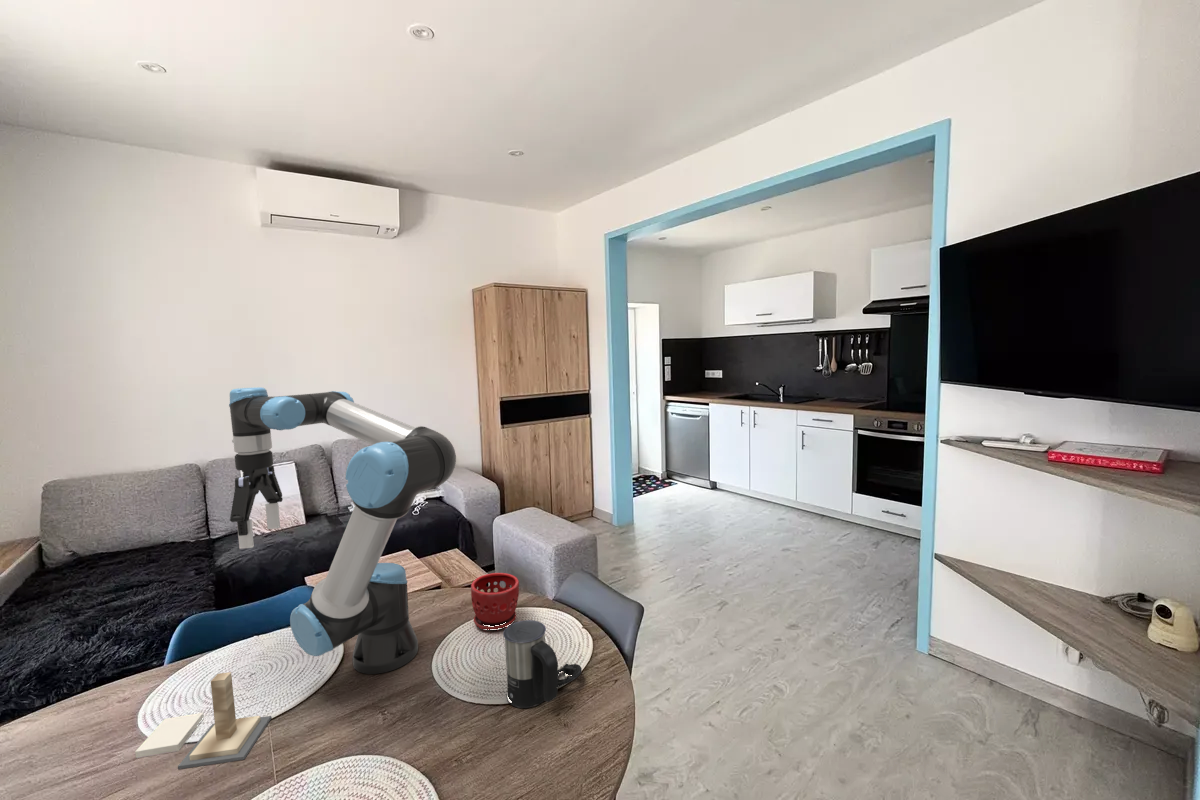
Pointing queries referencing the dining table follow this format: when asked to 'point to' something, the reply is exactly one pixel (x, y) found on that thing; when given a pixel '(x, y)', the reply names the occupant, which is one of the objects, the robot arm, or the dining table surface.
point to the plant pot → (494, 600)
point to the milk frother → (533, 665)
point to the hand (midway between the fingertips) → (261, 537)
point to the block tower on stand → (224, 723)
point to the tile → (169, 735)
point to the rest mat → (227, 758)
